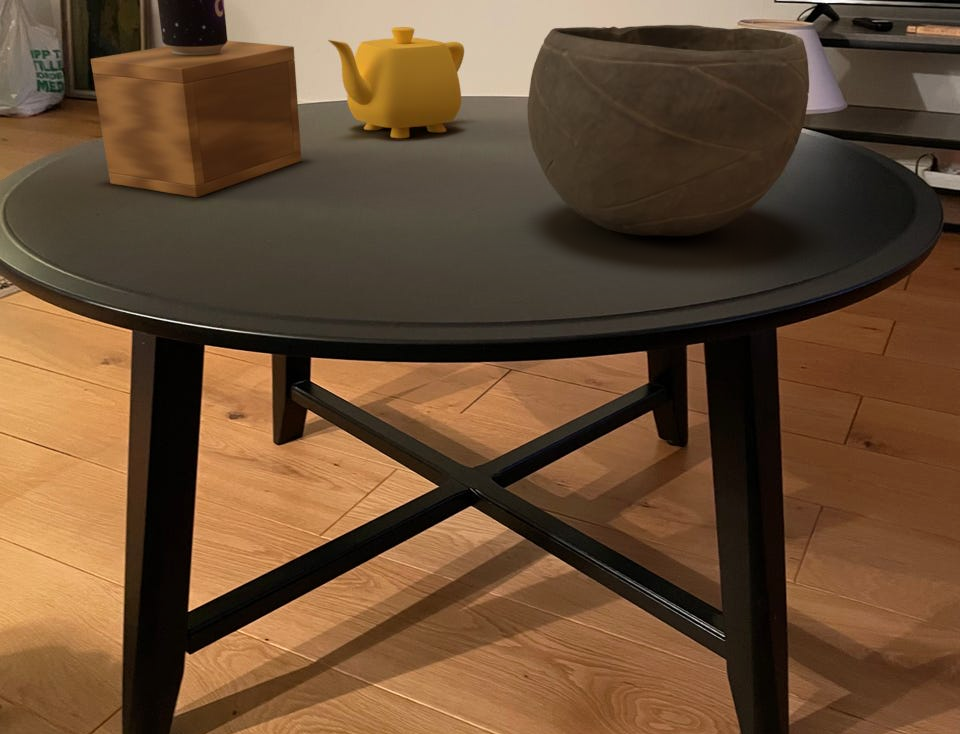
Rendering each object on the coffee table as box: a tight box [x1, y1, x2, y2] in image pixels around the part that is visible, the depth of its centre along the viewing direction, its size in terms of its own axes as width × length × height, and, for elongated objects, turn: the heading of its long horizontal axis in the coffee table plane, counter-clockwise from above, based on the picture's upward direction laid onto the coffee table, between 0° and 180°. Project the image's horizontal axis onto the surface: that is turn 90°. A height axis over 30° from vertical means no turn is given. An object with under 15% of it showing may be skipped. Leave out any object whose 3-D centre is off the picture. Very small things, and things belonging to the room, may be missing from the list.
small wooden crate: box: [90, 40, 302, 198], centre depth 95 cm, size 10×16×11 cm, turn 154°
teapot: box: [327, 26, 465, 139], centre depth 114 cm, size 18×11×11 cm, turn 130°
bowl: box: [527, 24, 810, 237], centre depth 81 cm, size 21×21×15 cm
